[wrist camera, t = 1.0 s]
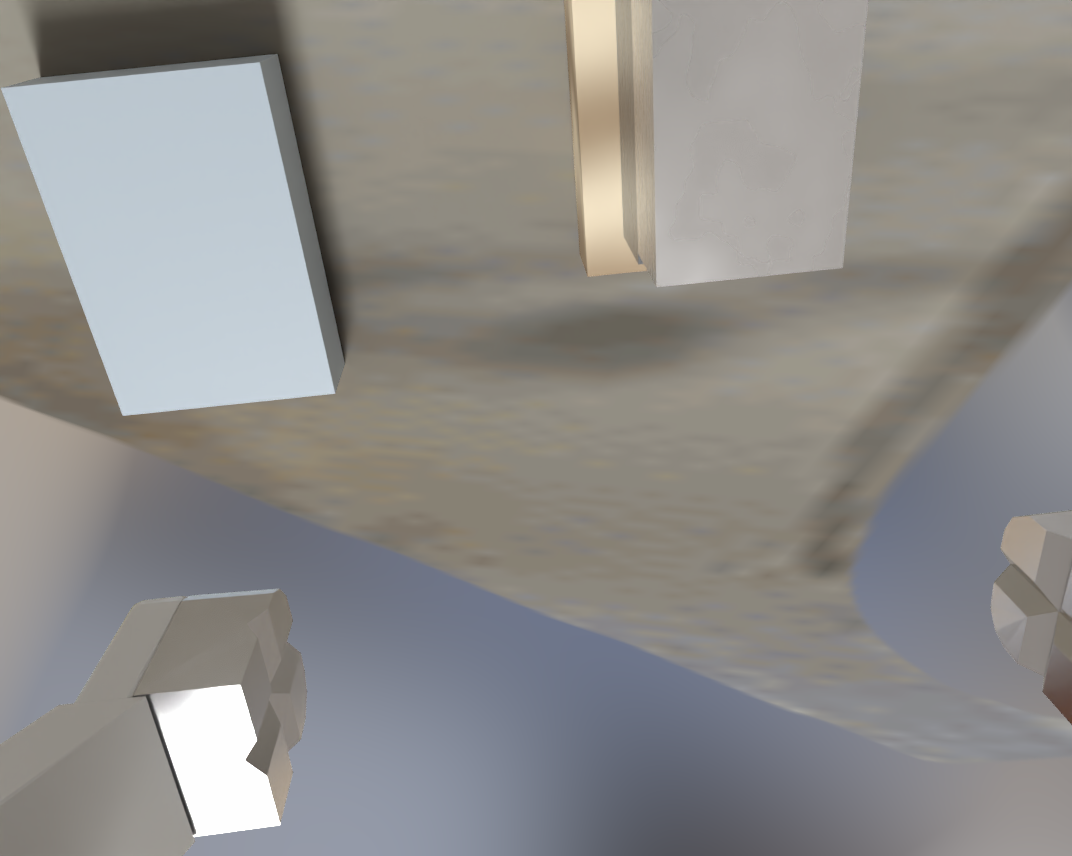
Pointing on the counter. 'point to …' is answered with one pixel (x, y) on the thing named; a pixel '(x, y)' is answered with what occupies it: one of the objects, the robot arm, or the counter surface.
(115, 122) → the stand
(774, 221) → the block
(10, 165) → the counter surface
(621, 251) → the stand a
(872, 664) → the counter surface
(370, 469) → the counter surface
